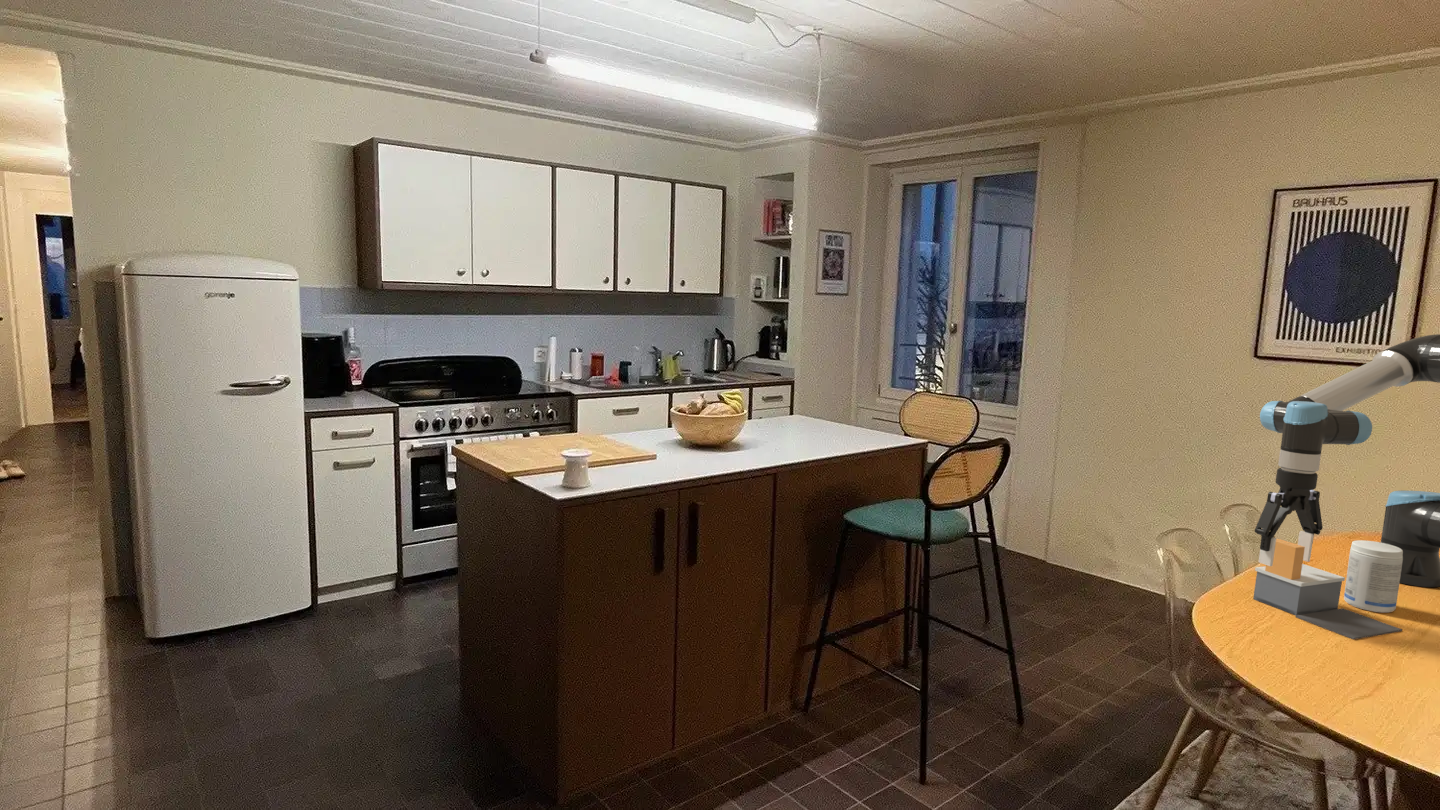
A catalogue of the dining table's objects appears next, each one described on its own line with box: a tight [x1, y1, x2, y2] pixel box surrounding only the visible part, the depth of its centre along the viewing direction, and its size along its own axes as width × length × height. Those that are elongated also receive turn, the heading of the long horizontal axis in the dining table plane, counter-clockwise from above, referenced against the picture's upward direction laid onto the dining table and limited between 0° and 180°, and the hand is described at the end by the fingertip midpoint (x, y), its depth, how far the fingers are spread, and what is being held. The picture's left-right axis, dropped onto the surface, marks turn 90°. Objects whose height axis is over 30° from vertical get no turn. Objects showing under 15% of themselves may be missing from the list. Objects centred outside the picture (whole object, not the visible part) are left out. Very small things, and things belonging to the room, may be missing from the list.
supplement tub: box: [1343, 539, 1403, 614], centre depth 185 cm, size 10×10×15 cm
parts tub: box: [1252, 571, 1343, 616], centre depth 185 cm, size 14×10×7 cm
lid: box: [1254, 538, 1346, 587], centre depth 184 cm, size 15×11×8 cm
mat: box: [1294, 607, 1403, 640], centre depth 175 cm, size 16×12×1 cm
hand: (1284, 562), depth 182 cm, fingers open, 12 cm apart
